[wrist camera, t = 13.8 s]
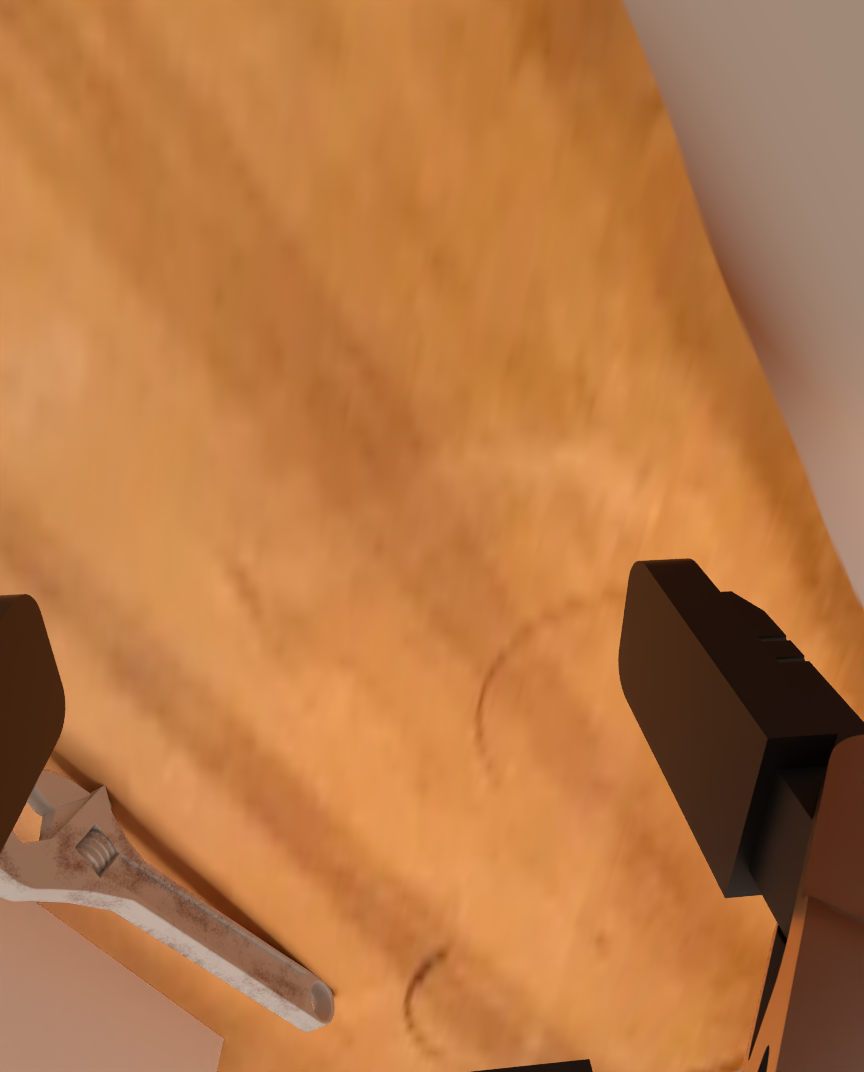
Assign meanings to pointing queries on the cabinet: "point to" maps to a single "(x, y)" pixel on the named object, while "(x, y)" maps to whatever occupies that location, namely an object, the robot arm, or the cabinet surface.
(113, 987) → the cube
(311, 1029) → the wrench
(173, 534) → the cabinet surface
